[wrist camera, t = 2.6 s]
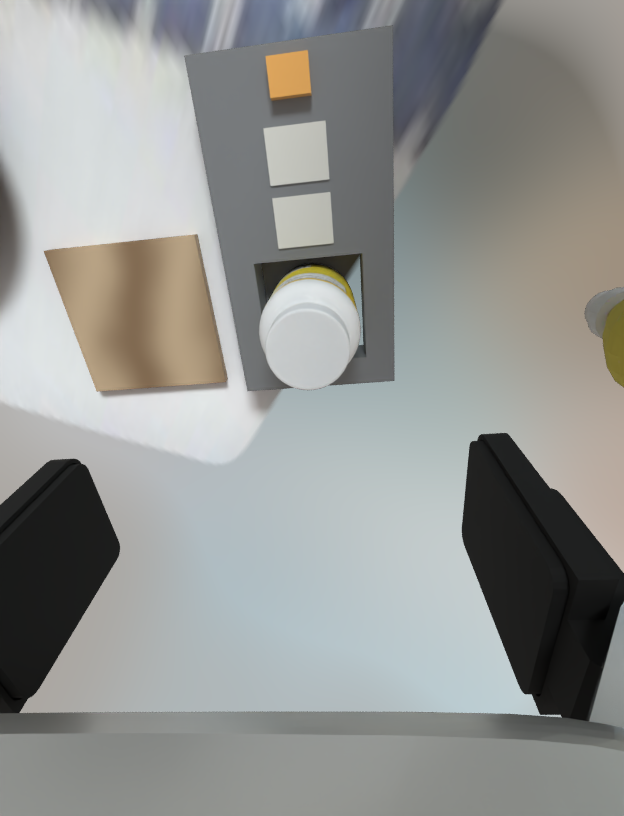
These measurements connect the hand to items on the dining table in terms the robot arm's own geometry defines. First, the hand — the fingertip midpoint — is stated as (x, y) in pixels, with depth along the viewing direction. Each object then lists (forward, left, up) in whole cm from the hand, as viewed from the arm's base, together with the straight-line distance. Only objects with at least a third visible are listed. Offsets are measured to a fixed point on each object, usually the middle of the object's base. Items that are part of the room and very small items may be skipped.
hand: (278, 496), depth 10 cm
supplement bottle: (0, 0, -20) cm, 20 cm away
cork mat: (+12, 0, -20) cm, 23 cm away
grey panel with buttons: (0, -4, -20) cm, 20 cm away
